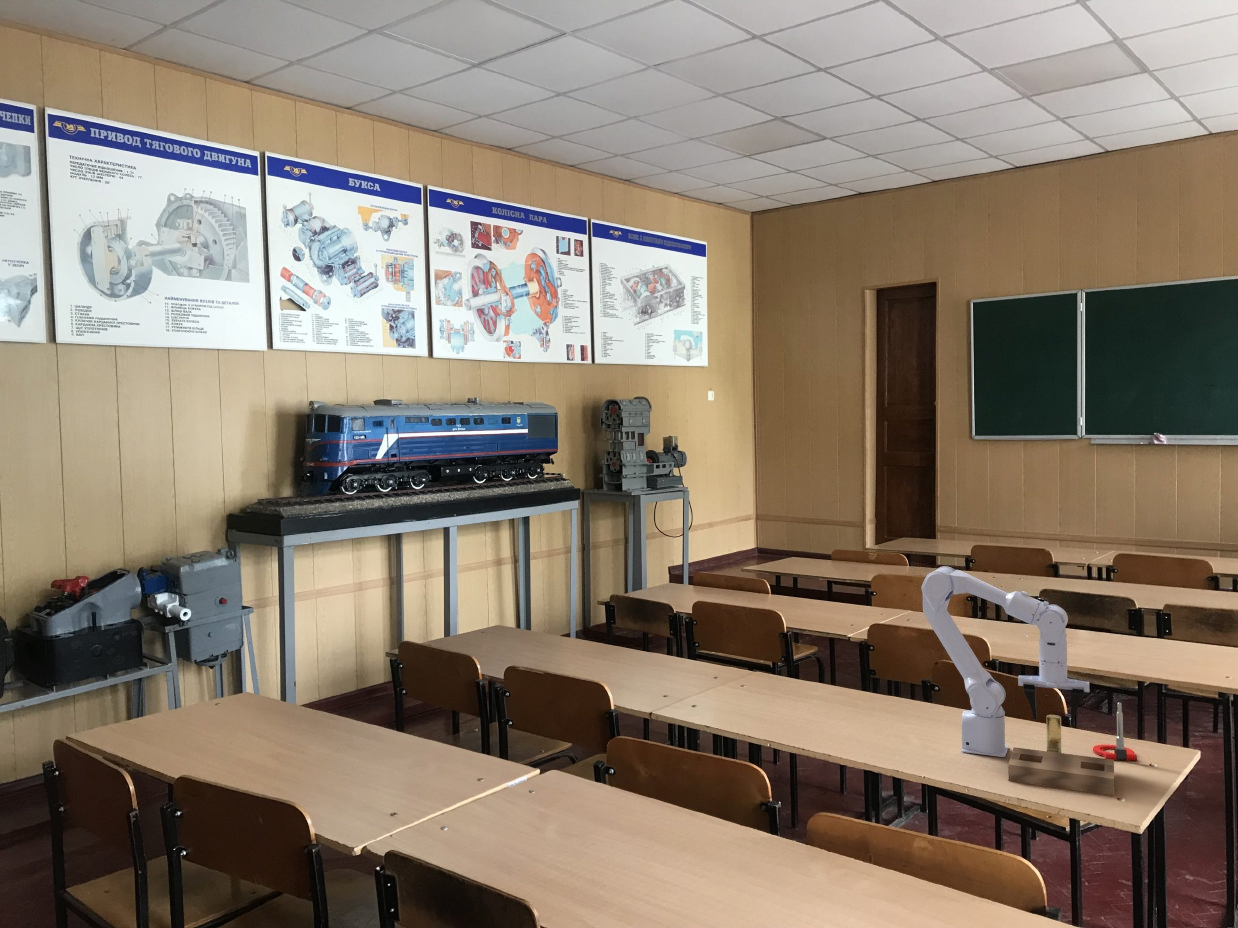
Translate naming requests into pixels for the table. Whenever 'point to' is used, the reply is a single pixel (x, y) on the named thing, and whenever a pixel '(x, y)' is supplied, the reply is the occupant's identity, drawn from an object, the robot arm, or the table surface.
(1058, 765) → the hole block
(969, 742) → the robot arm
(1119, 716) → the tow hook
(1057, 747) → the brass pin
